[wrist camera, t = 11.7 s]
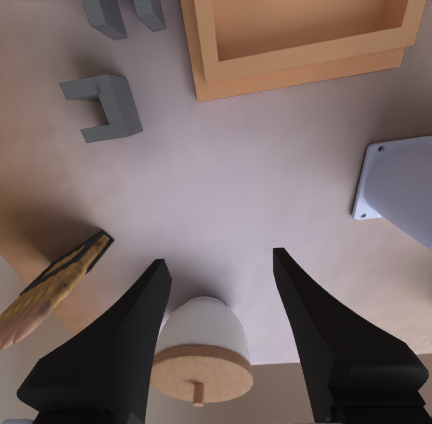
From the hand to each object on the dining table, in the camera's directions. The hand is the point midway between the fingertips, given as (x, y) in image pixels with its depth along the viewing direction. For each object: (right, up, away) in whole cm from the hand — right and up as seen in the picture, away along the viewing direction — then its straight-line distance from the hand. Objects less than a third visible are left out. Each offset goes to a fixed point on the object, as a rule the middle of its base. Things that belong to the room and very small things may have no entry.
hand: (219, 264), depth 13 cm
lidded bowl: (-2, -12, +18) cm, 22 cm away
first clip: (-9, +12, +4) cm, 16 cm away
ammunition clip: (-18, -2, +13) cm, 22 cm away
